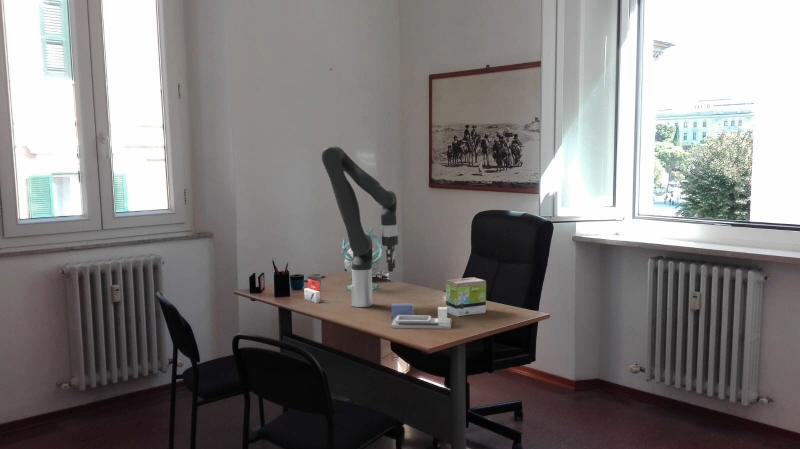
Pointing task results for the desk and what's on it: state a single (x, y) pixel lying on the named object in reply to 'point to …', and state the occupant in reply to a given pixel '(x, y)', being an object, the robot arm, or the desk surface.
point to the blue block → (401, 309)
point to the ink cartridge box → (312, 291)
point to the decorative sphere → (374, 266)
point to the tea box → (465, 296)
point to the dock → (423, 321)
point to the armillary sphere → (374, 286)
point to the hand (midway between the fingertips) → (391, 269)
